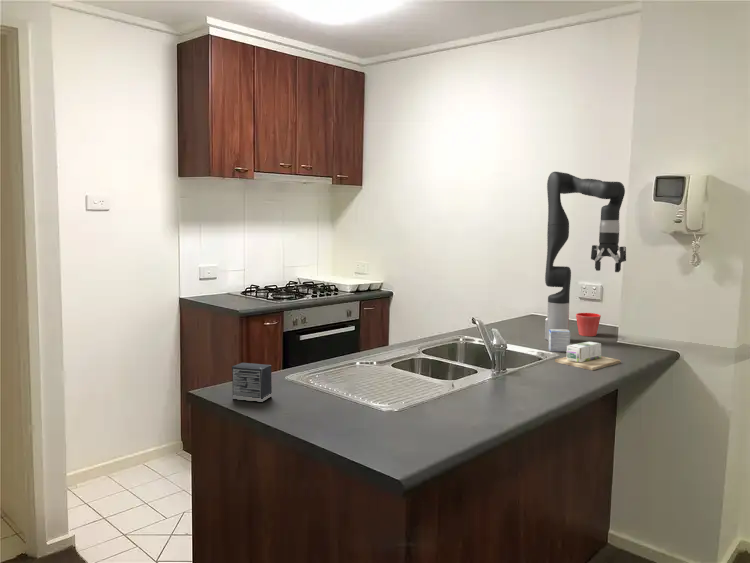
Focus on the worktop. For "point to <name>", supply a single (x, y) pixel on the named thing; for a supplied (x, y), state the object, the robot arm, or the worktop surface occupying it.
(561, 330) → the medicine box
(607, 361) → the birch board
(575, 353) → the syrup box
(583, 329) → the flower pot
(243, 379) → the small box
